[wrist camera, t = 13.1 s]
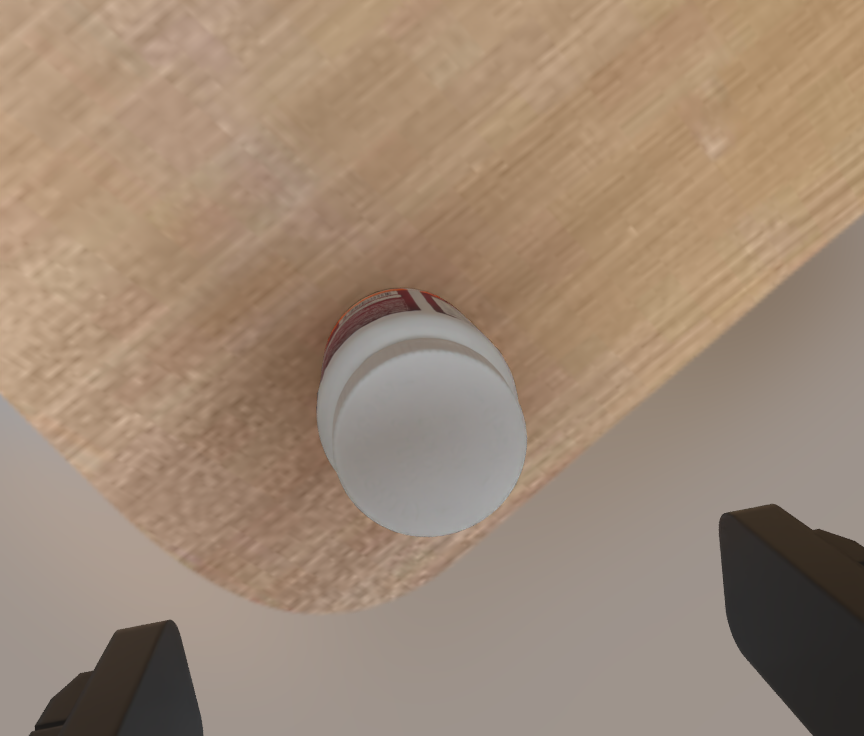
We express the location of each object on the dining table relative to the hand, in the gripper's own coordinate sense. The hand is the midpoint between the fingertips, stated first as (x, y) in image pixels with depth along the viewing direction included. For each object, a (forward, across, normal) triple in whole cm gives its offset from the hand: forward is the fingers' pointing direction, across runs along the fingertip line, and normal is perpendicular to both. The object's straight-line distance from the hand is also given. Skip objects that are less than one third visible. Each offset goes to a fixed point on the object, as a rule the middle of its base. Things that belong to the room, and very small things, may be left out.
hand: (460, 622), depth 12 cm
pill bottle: (+21, 0, 0) cm, 21 cm away
